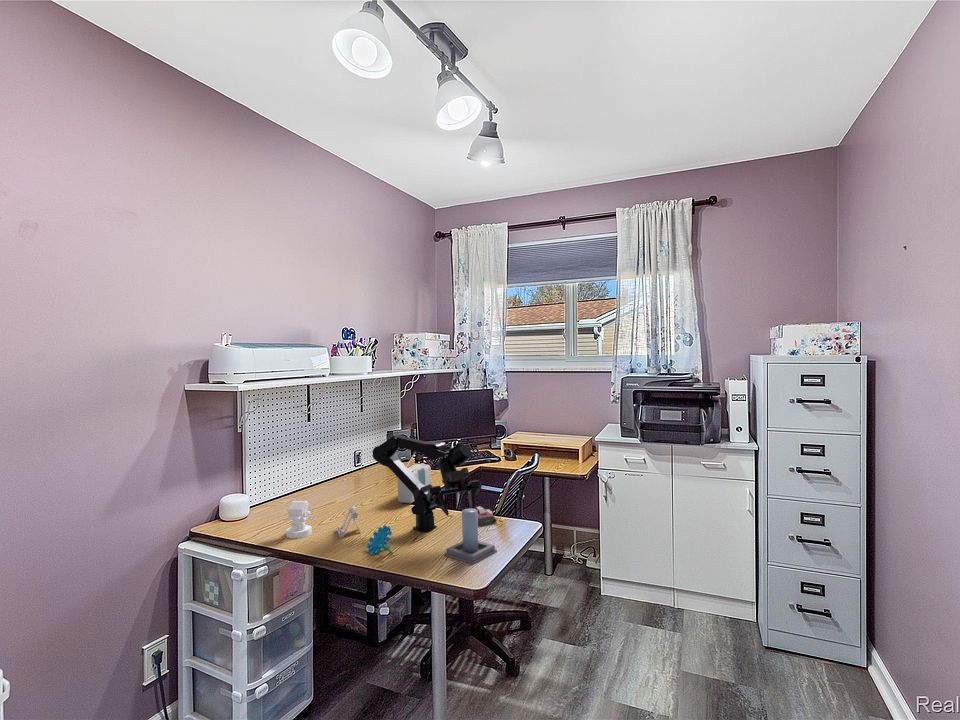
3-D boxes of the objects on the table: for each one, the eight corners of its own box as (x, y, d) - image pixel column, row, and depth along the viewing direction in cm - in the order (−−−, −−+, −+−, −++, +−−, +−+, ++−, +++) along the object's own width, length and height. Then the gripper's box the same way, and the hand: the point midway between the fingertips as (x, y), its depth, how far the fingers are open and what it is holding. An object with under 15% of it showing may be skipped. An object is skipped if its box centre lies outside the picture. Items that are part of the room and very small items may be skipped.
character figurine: (315, 530, 183) (314, 498, 183) (303, 539, 173) (302, 505, 173) (293, 529, 184) (292, 498, 184) (280, 539, 174) (279, 505, 174)
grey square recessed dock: (444, 555, 156) (444, 548, 156) (468, 543, 165) (468, 537, 165) (473, 564, 148) (473, 557, 148) (497, 551, 158) (496, 545, 158)
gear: (362, 543, 163) (383, 519, 166) (374, 552, 166) (394, 528, 169) (372, 559, 154) (394, 533, 156) (384, 568, 156) (406, 543, 159)
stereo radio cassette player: (412, 505, 211) (411, 458, 211) (395, 503, 214) (394, 458, 214) (432, 492, 231) (430, 449, 231) (416, 491, 234) (415, 449, 234)
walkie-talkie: (501, 523, 185) (481, 509, 203) (501, 512, 185) (481, 498, 203) (480, 527, 182) (461, 512, 200) (480, 515, 182) (461, 501, 200)
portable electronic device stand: (337, 530, 182) (336, 508, 182) (358, 527, 184) (358, 505, 184) (339, 538, 174) (338, 514, 174) (361, 535, 176) (361, 511, 176)
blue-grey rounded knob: (459, 551, 156) (458, 511, 156) (469, 546, 160) (468, 507, 160) (471, 555, 153) (470, 514, 153) (481, 550, 157) (480, 510, 157)
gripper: (427, 463, 165) (438, 505, 155) (478, 457, 172) (492, 496, 162) (422, 481, 173) (432, 522, 163) (471, 474, 180) (484, 513, 170)
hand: (461, 513), depth 164 cm, fingers open, 9 cm apart
